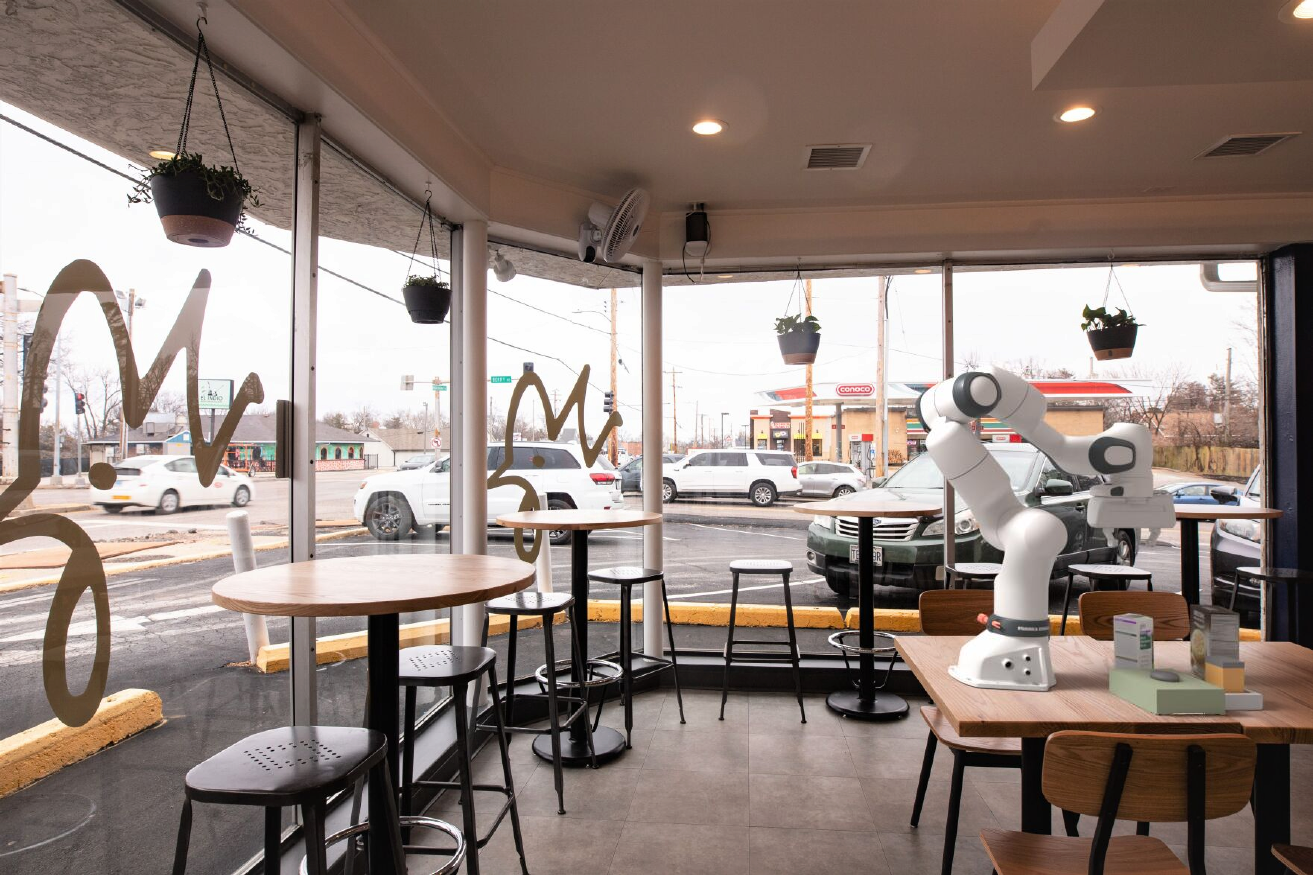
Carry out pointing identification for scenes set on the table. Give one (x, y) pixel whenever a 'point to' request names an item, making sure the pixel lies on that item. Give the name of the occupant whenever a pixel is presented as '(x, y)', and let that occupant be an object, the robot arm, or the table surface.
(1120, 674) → the knobbed slab with frame
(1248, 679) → the table surface
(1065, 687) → the table surface
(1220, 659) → the orange and grey block
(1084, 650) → the table surface
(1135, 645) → the syrup box
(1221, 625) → the coffee box
